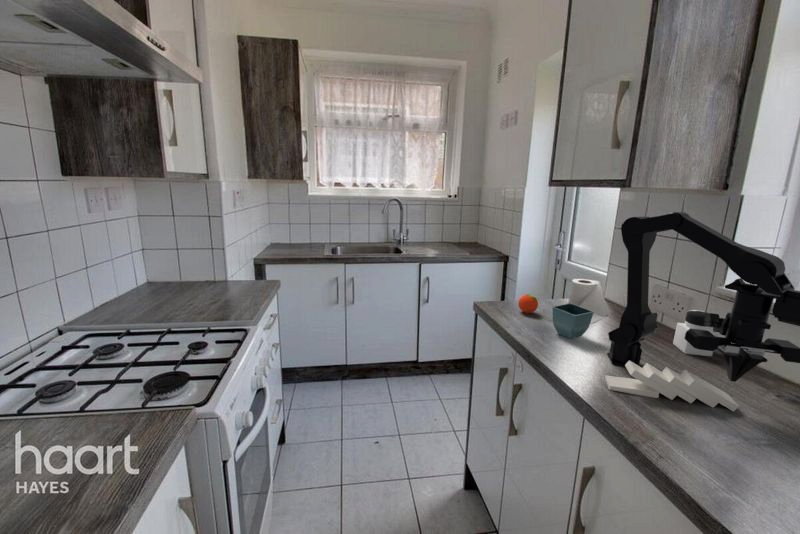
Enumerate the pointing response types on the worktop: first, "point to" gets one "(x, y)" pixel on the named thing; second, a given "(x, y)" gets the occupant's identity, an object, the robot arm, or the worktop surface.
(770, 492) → the worktop surface
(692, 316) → the medicine bottle
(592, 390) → the worktop surface
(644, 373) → the domino
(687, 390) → the domino
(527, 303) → the clementine
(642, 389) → the domino
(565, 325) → the flower pot
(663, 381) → the domino
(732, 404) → the domino
